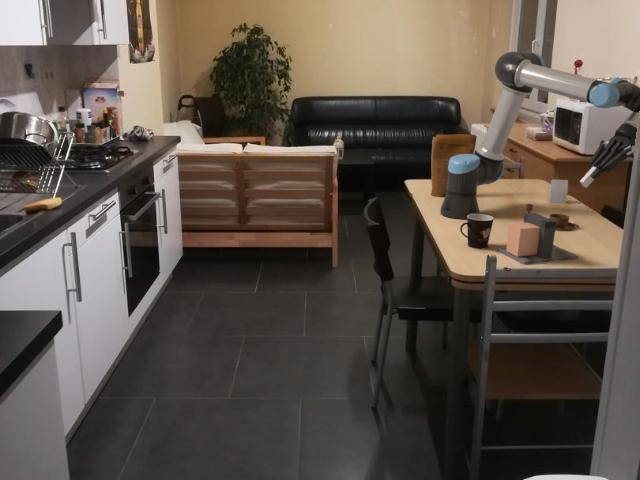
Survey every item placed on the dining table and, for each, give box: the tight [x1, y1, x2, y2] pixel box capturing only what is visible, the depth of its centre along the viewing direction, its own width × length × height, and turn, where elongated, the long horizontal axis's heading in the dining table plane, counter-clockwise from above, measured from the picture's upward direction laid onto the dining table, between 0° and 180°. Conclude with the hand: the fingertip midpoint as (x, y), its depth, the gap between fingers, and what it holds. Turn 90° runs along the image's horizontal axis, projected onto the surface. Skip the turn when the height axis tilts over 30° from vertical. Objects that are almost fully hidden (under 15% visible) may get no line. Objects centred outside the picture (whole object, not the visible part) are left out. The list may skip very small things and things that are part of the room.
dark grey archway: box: [523, 212, 556, 258], centre depth 202 cm, size 4×11×12 cm, turn 19°
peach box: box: [506, 222, 541, 257], centre depth 201 cm, size 10×6×9 cm, turn 109°
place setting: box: [525, 203, 580, 232], centre depth 241 cm, size 18×20×6 cm
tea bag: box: [547, 178, 569, 205], centre depth 274 cm, size 4×7×10 cm, turn 80°
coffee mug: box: [459, 213, 495, 250], centre depth 211 cm, size 12×9×10 cm
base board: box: [497, 244, 579, 265], centre depth 204 cm, size 20×14×1 cm
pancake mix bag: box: [430, 133, 478, 198], centre depth 277 cm, size 7×19×28 cm, turn 85°
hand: (583, 184), depth 204 cm, fingers closed
